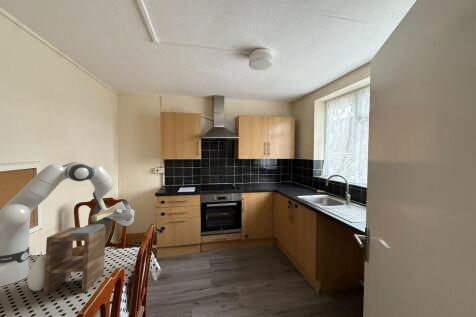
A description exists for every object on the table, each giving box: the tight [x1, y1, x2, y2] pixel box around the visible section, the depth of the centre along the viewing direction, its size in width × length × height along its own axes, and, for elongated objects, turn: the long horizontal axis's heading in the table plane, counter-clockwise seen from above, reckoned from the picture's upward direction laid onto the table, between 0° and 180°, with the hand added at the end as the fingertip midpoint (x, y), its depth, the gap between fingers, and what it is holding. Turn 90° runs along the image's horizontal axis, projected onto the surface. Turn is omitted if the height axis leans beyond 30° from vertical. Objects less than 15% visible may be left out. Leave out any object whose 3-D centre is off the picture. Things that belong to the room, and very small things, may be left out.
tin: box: [72, 244, 84, 256], centre depth 116 cm, size 15×3×8 cm, turn 139°
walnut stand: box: [42, 226, 107, 296], centre depth 94 cm, size 18×14×26 cm
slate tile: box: [70, 223, 105, 236], centre depth 95 cm, size 8×13×2 cm, turn 8°
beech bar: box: [90, 206, 118, 222], centre depth 110 cm, size 3×22×2 cm, turn 8°
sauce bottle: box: [26, 251, 46, 292], centre depth 89 cm, size 8×8×18 cm
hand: (112, 209), depth 117 cm, fingers closed on beech bar, 3 cm apart
